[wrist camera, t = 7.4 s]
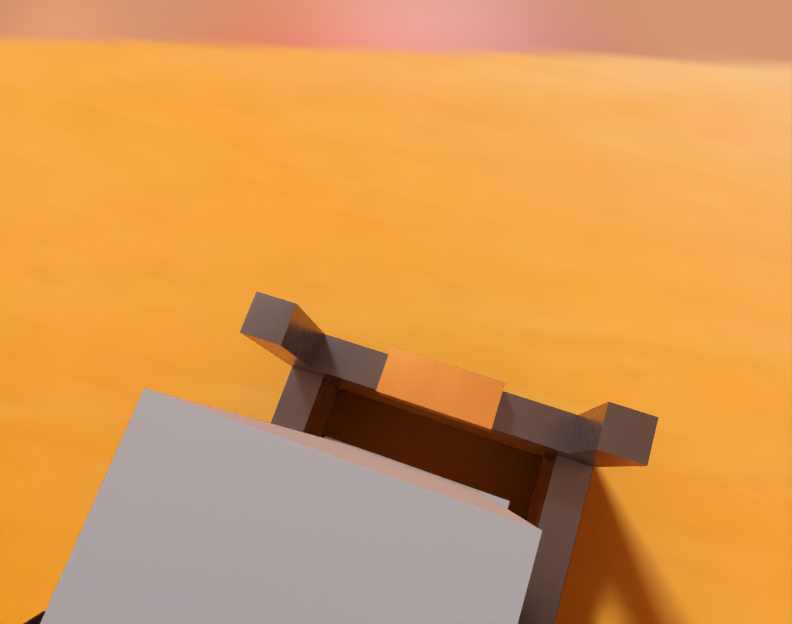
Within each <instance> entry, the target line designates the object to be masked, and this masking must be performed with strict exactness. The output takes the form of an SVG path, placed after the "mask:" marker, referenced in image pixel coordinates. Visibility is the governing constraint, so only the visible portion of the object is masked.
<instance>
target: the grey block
mask: <svg viewBox="0 0 792 624" xmlns="http://www.w3.org/2000/svg"><path fill="white" fill-rule="evenodd" d="M509 502H510V501H508V500H506V499H503V498H500V497H497V496H494V495H492V494H489V493H486V492H483V491H480V490H477V489H475V488H472V487H469V486H466V485H463V484H460V483H458V482H455V481H452V480H449V479H446V478H443V477H441V476H438V475H435V474H432V473H429V472H426V471H424V470H421V469H418V468H415V467H412V466H409V465H407V464H404V463H401V462H398V461H395V460H392V459H390V458H387V457H384V456H381V455H378V454H375V453H373V452H370V451H367V450H364V449H361V448H358V447H356V446H353V445H350V444H347V443H344V442H341V441H339V440H336V439H333V438H330V437H326V436H325V438H321V437H318V436H314V435H311V434H307V433H304V432H300V431H296V430H293V429H289V428H286V427H282V426H278V425H275V424H271V423H268V422H264V421H260V420H257V419H253V418H250V417H246V416H242V415H239V414H235V413H232V412H228V411H225V410H221V409H217V408H214V407H210V406H207V405H203V404H199V403H196V402H192V401H189V400H185V399H181V398H178V397H174V396H171V395H167V394H163V393H160V392H156V391H153V390H149V389H146V388H144V390H143V393H142V395H141V397H140V399H139V402H138V404H137V406H136V409H135V411H134V413H133V415H132V418H131V420H130V422H129V424H128V427H127V429H126V431H125V433H124V436H123V438H122V440H121V442H120V445H119V447H118V449H117V451H116V454H115V456H114V458H113V460H112V463H111V465H110V467H109V469H108V472H107V474H106V476H105V478H104V481H103V483H102V485H101V487H100V490H99V492H98V494H97V496H96V499H95V501H94V503H93V505H92V508H91V510H90V512H89V515H88V517H87V519H86V521H85V524H84V526H83V528H82V530H81V533H80V535H79V537H78V539H77V542H76V544H75V546H74V548H73V551H72V553H71V555H70V557H69V560H68V562H67V564H66V566H65V569H64V571H63V573H62V575H61V578H60V580H59V582H58V584H57V587H56V589H55V591H54V593H53V596H52V598H51V600H50V602H49V605H48V607H47V609H46V611H45V614H44V616H43V618H42V621H41V623H40V624H518V621H519V617H520V613H521V609H522V606H523V602H524V598H525V594H526V591H527V587H528V583H529V579H530V575H531V572H532V568H533V564H534V560H535V556H536V553H537V549H538V545H539V541H540V538H541V534H542V530H540V529H539V528H537V527H535V526H534V525H532V524H531V523H529V522H527V521H526V520H524V519H523V518H521V517H519V516H518V515H516V514H514V513H513V512H511V511H510V510H508V506H509Z"/></svg>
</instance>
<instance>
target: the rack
mask: <svg viewBox="0 0 792 624" xmlns="http://www.w3.org/2000/svg"><path fill="white" fill-rule="evenodd" d="M240 332H241V333H242V334H244V335H245V336H247V337H248V338H250V339H251V340H253V341H254V342H256V343H257V344H259V345H260V346H262V347H263V348H265V349H266V350H268V351H270V352H271V353H273V354H274V355H276V356H277V357H279V358H280V359H282V360H283V361H285V362H286V363H288V364H289V365H291V366H292V370H291V372H290V375H289V377H288V380H287V383H286V385H285V388H284V390H283V393H282V396H281V398H280V401H279V403H278V406H277V409H276V411H275V414H274V416H273V419H272V422H271V424H275V425H278V426H282V427H286V428H289V429H293V430H296V431H300V432H304V433H307V434H311V435H314V436H318V437H322V434H323V431H324V429H325V426H326V423H327V420H328V417H329V415H330V412H331V409H332V406H333V404H334V401H335V398H336V395H337V393H338V390H339V389H342V390H345V391H348V392H351V393H354V394H357V395H360V396H363V397H366V398H369V399H372V400H375V401H378V402H381V403H384V404H387V405H390V406H393V407H396V408H399V409H402V410H405V411H408V412H411V413H414V414H417V415H420V416H423V417H426V418H429V419H432V420H435V421H438V422H441V423H444V424H447V425H449V426H452V427H455V428H458V429H461V430H464V431H467V432H470V433H473V434H476V435H479V436H482V437H485V438H488V439H491V440H494V441H497V442H500V443H503V444H506V445H509V446H512V447H515V448H518V449H521V450H524V451H527V452H530V453H533V454H536V455H539V456H542V457H543V460H542V463H541V467H540V471H539V474H538V478H537V482H536V485H535V489H534V493H533V496H532V500H531V504H530V508H529V511H528V515H527V519H526V521H527V522H529V523H531V524H532V525H534V526H535V527H537V528H539V529H540V530H542V534H541V538H540V541H539V545H538V549H537V553H536V556H535V560H534V564H533V568H532V572H531V575H530V579H529V583H528V587H527V591H526V594H525V598H524V602H523V606H522V609H521V613H520V617H519V621H518V624H554V622H555V618H556V614H557V610H558V606H559V602H560V598H561V594H562V590H563V586H564V582H565V578H566V574H567V570H568V566H569V562H570V558H571V554H572V550H573V546H574V542H575V538H576V534H577V530H578V526H579V522H580V518H581V514H582V510H583V506H584V502H585V498H586V494H587V491H588V487H589V483H590V479H591V475H592V471H593V467H618V466H647V464H648V460H649V456H650V451H651V447H652V442H653V438H654V434H655V429H656V425H657V421H658V417H655V416H652V415H649V414H646V413H643V412H639V411H636V410H633V409H630V408H627V407H623V406H620V405H617V404H614V403H611V402H607V403H605V404H602V405H600V406H598V407H596V408H593V409H591V410H589V411H586V412H584V413H582V414H579V415H576V414H572V413H569V412H566V411H563V410H560V409H557V408H554V407H551V406H547V405H544V404H541V403H538V402H535V401H532V400H529V399H526V398H522V397H519V396H516V395H513V394H510V393H507V392H504V391H503V389H504V385H505V382H502V381H498V380H495V379H492V378H489V377H486V376H483V375H480V374H476V373H473V372H470V371H467V370H464V369H461V368H458V367H454V366H451V365H448V364H445V363H442V362H439V361H435V360H432V359H429V358H426V357H423V356H420V355H417V354H413V353H410V352H407V351H404V350H401V349H398V348H395V347H391V349H390V352H389V355H388V354H385V353H382V352H379V351H376V350H373V349H369V348H366V347H363V346H360V345H357V344H354V343H351V342H348V341H344V340H341V339H338V338H335V337H332V336H329V335H326V334H324V333H323V332H322V331H321V330H320V329H319V328H318V326H317V325H316V324H315V323H314V322H313V321H312V320H311V319H310V318H309V317H308V316H307V315H306V313H305V312H304V311H303V310H302V309H301V308H300V307H299V306H298V305H297V304H295V303H292V302H289V301H285V300H282V299H279V298H276V297H273V296H269V295H266V294H263V293H260V292H256V295H255V297H254V299H253V302H252V304H251V307H250V309H249V312H248V314H247V317H246V319H245V321H244V324H243V326H242V329H241V331H240Z"/></svg>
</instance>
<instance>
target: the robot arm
mask: <svg viewBox="0 0 792 624" xmlns="http://www.w3.org/2000/svg"><path fill="white" fill-rule="evenodd" d="M44 614H45V611H43V612H41V613H40V614H38V615H36V616H35V617H33V618H32V619H30V620H29V621H27V622H25V623H24V624H40V623H41V621H42V618H43V616H44Z"/></svg>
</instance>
